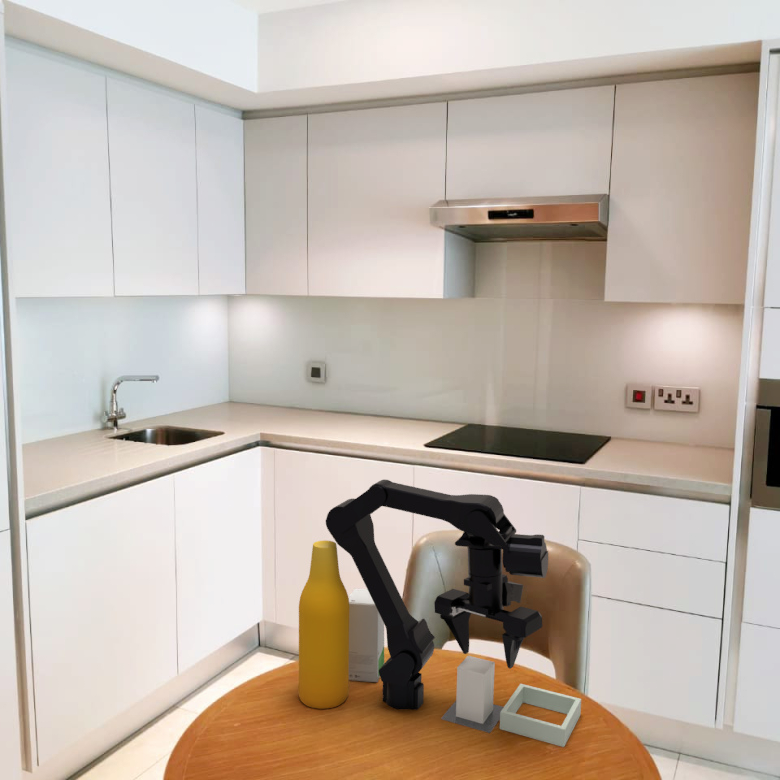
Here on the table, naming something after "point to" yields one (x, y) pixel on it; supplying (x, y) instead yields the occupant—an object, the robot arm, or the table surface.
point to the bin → (538, 727)
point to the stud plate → (485, 727)
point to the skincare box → (365, 637)
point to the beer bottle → (324, 632)
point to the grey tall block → (475, 689)
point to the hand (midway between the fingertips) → (487, 660)
